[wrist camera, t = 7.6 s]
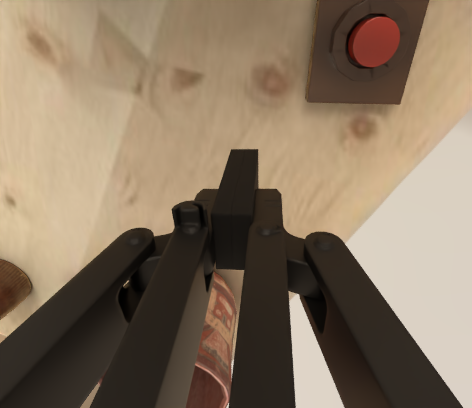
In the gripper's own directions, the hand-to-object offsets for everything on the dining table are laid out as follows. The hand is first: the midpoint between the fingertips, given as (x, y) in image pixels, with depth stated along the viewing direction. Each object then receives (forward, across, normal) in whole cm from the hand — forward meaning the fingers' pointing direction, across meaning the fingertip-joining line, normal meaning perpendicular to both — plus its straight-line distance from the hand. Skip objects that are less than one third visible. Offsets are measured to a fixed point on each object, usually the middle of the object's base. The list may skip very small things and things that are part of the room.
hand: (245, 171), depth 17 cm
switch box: (+22, +11, +5) cm, 25 cm away
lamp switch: (+18, +11, +5) cm, 22 cm away
